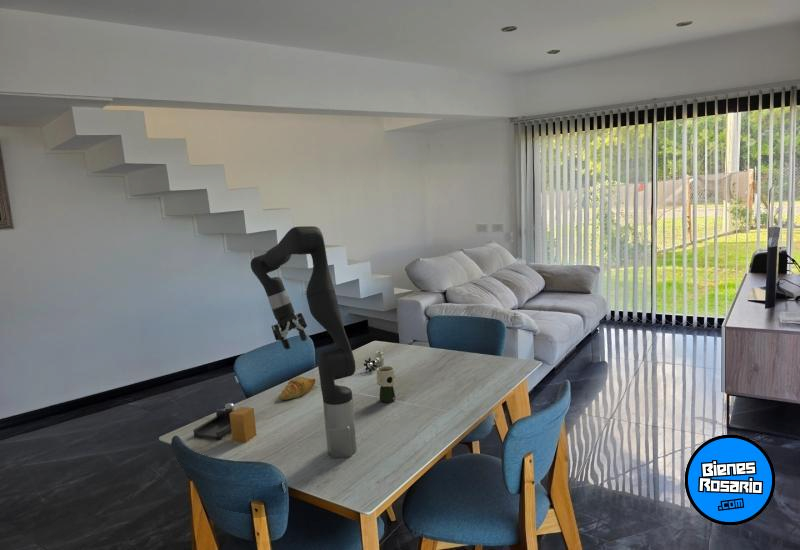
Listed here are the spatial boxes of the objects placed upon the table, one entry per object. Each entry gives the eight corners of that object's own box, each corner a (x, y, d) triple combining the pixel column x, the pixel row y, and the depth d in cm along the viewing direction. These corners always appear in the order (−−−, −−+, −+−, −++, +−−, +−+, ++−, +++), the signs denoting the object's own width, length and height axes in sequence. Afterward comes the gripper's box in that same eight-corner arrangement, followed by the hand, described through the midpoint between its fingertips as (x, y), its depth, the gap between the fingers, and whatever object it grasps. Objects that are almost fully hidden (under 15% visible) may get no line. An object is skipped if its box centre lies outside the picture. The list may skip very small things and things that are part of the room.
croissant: (286, 411, 220) (291, 396, 217) (268, 397, 224) (273, 381, 221) (319, 392, 238) (325, 377, 235) (303, 379, 242) (308, 365, 239)
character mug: (387, 406, 209) (384, 374, 207) (372, 403, 213) (369, 371, 211) (402, 397, 218) (400, 365, 216) (388, 394, 222) (385, 363, 220)
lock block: (246, 442, 185) (242, 414, 184) (232, 441, 187) (229, 413, 186) (256, 434, 191) (254, 407, 190) (243, 433, 193) (240, 406, 191)
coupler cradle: (219, 440, 189) (217, 420, 188) (194, 436, 192) (191, 417, 191) (246, 422, 202) (244, 403, 201) (221, 419, 206) (219, 401, 205)
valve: (376, 363, 264) (364, 371, 253) (375, 350, 263) (363, 357, 252) (388, 364, 261) (376, 372, 250) (387, 351, 260) (375, 358, 249)
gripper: (272, 309, 198) (288, 350, 199) (300, 297, 209) (315, 336, 210) (260, 312, 203) (276, 353, 204) (288, 300, 214) (303, 339, 215)
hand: (296, 344), depth 207 cm, fingers open, 8 cm apart
